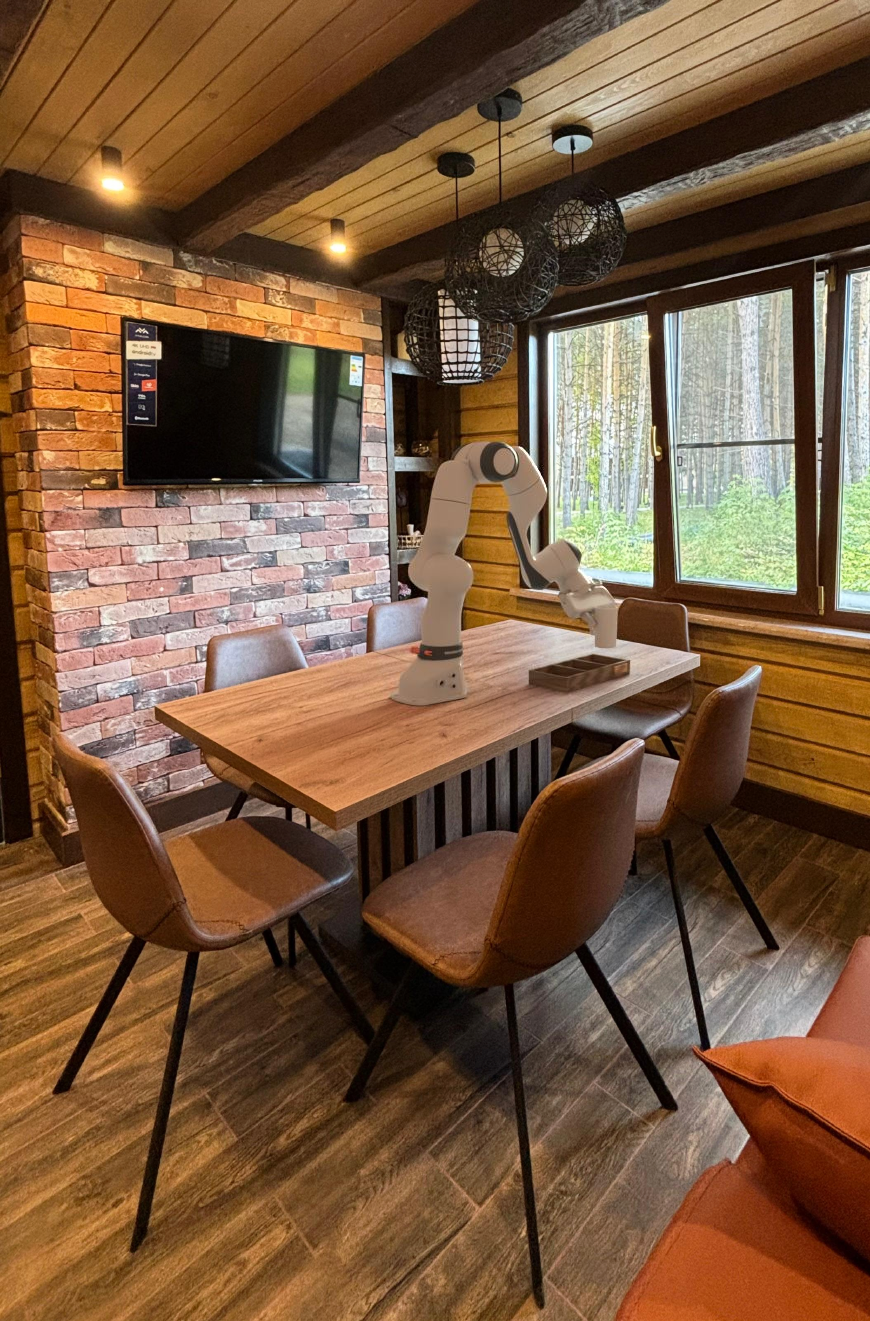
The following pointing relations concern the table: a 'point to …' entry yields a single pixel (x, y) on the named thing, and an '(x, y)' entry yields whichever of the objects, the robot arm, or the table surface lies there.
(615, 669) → the tray
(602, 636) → the mug
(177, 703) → the table surface
